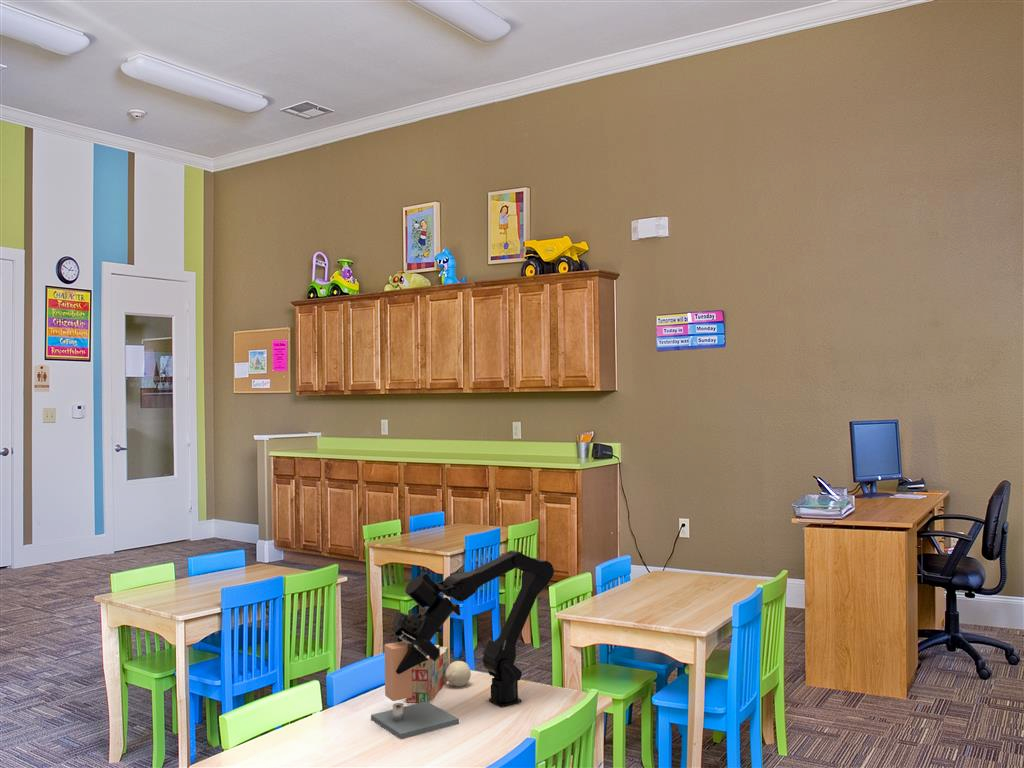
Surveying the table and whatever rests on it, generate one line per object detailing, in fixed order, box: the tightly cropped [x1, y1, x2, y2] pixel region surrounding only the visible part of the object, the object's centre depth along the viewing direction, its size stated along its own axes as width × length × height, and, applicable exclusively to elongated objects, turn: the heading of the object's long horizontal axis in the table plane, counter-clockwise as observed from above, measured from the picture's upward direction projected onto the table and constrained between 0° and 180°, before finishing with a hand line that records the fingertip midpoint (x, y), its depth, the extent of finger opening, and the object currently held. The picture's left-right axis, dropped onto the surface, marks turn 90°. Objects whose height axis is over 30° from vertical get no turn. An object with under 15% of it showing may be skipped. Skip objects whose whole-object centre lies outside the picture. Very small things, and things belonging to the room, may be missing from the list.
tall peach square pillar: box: [384, 641, 412, 702], centre depth 205 cm, size 5×5×12 cm
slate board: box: [370, 701, 460, 740], centre depth 206 cm, size 16×16×1 cm
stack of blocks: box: [405, 644, 450, 704], centre depth 230 cm, size 21×6×12 cm, turn 169°
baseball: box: [445, 660, 472, 687], centre depth 234 cm, size 7×7×7 cm
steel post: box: [392, 702, 404, 721], centre depth 205 cm, size 3×3×5 cm
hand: (393, 670), depth 204 cm, fingers closed on tall peach square pillar, 5 cm apart
